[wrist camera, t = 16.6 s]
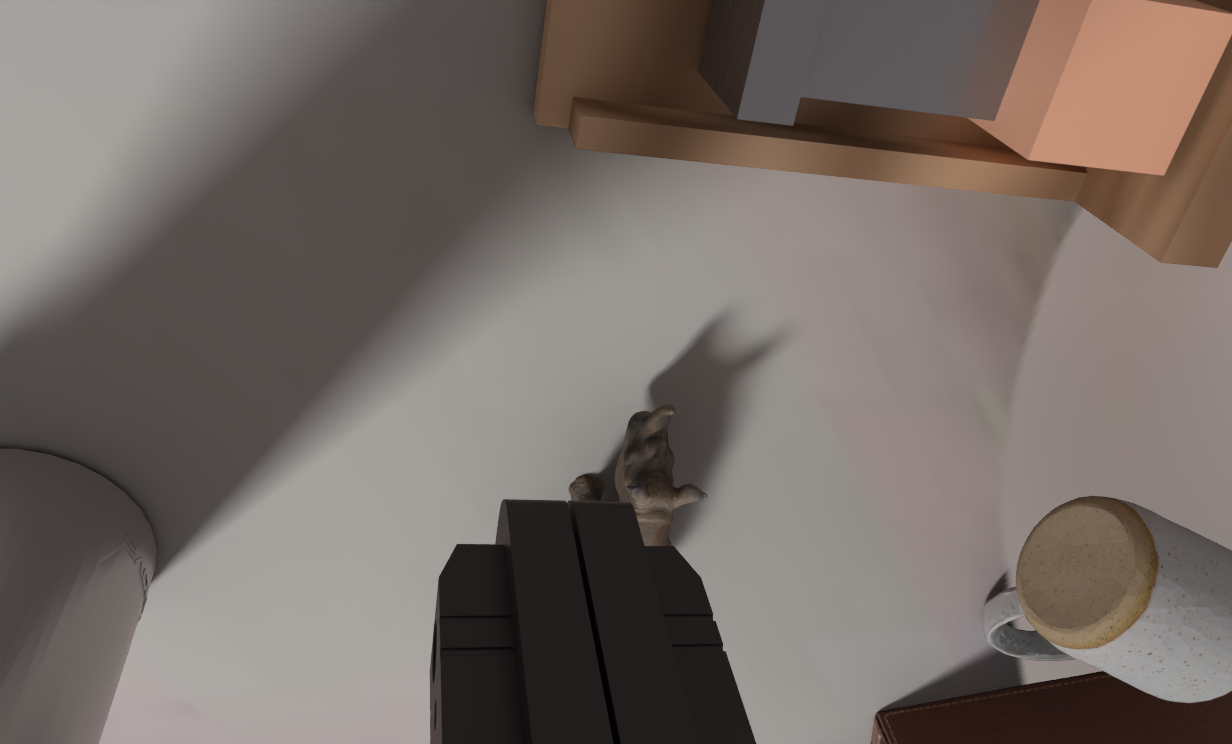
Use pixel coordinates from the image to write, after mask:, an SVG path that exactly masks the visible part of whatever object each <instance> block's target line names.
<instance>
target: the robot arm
mask: <svg viewBox="0 0 1232 744" xmlns="http://www.w3.org/2000/svg"><path fill="white" fill-rule="evenodd" d="M156 552H157V547H156V543H155V539H154V535H153V531H152V528H151V526H150V525H149V523H148V521H147V519H146V518H145V516H144V514H143V512H142V511H141V509H140V508H139V507H138V506H137V505H136V504H135V503H134V502H133V501H132V500H131V498H130V497H129V496H128V495H127V494H126V493H125V492H124V491H122V490H121V489H120V488H118V487H117V486H116V485H114V484H113V483H112V482H110V481H109V480H107V479H106V478H105V477H103V476H101V475H99V474H97V473H95V472H93V471H91V470H89V469H87V468H86V467H84V466H82V465H80V464H77V463H74V462H71V461H68V460H65V459H62V458H59V457H56V456H53V455H50V454H45V453H39V452H33V451H27V450H21V449H0V744H99V741H100V738H101V735H102V732H103V729H104V726H105V722H106V719H107V716H108V713H109V710H110V707H111V704H112V701H113V698H114V695H115V692H116V689H117V685H118V682H119V679H120V676H121V673H122V670H123V667H124V664H125V661H126V658H127V655H128V652H129V648H130V645H131V641H132V638H133V635H134V632H135V629H136V626H137V623H138V621H139V620H140V618H141V614H142V613H143V609H144V606H145V603H146V600H147V598H146V597H147V593H148V589H149V586H150V583H151V580H152V577H153V574H154V570H155V567H156ZM430 711H431V715H430V743H431V744H756V742H755V739H754V736H753V733H752V730H751V727H750V724H749V721H748V718H747V715H746V712H745V709H744V706H743V703H742V700H741V697H740V694H739V691H738V688H737V685H736V681H735V678H734V675H733V672H732V669H731V666H730V663H729V660H728V657H727V654H726V651H724V652H723V642H722V639H721V636H720V633H719V630H718V627H717V624H716V621H713V612H712V609H711V606H710V603H709V600H708V597H707V594H706V591H705V588H704V585H703V582H702V579H701V577H700V576H699V575H698V574H697V573H696V571H695V570H694V569H693V568H692V567H691V566H690V565H689V563H688V562H687V561H686V560H685V559H684V558H683V556H682V555H681V554H680V553H679V552H678V551H677V550H676V548H675V547H674V546H644V542H643V538H642V535H641V531H640V527H639V524H638V520H637V517H636V513H635V510H634V507H633V505H632V504H631V503H630V502H615V501H568V502H567V503H566V501H556V500H510V499H504V500H503V501H502V503H501V507H500V513H499V520H498V528H497V535H496V543H495V545H490V544H457V545H456V547H455V549H454V551H453V553H452V554H451V556H450V558H449V560H448V562H447V563H446V565H445V567H444V569H443V571H442V572H441V574H440V576H439V581H438V592H437V602H436V612H435V623H434V633H433V644H432V654H431V665H430Z"/></svg>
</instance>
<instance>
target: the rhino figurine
mask: <svg viewBox="0 0 1232 744" xmlns="http://www.w3.org/2000/svg"><path fill="white" fill-rule="evenodd" d="M674 413H675V409H674V407H672V406H671V405H665V406H662V407H660V408H659V409H657V410H655V411H654V412H653V413H650V412H647V411H641V412H637V413H635V414H634V415H633V416H632V417H631V418H630V420H629V423H628V426H627V432H626V436H625V440H624V445H623V448H622V450H621V452H620V455H619V458H618V462H617V466H616V471H615V486H616V489H617V492H618V495H619V498H620V501H619V502H630V503H631V504H632V505H633V507H634V510H635V513H636V517H637V520H638V524H639V527H640V531H641V535H642V538H643V542H644V546H671V542H670V540H669V536H668V533H669V530H670V524H671V522H672V519H673V512H674V510H675V509H676V508H677V507H679V506H681V505H683V504H688V503H693V502H697V501H700V500H703V499H705V498H707V495H706V494H705V493H704V492H702V491H701V490H699V489H698V488H697V487H695V486H694V485H691V484H686V485H683V486H681V487H680V488H675V487H674V486H673V477H672V472H671V468H672V466H673V464H674V455H673V453H672V451H671V450H670V448H669V445H668V433H667V427H668V422H669V420H670V417H671V415H673V414H674ZM602 491H603V484H602V483H601V481H600V480H598V479H591V478H590V477H588V476H587V475H582V476H579V477H578V478H576V480H575V481H574V482H573V483H571V484H570V486H569V492H570V494H571V499H572V501H601V497H602Z"/></svg>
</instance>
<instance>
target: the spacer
mask: <svg viewBox="0 0 1232 744" xmlns="http://www.w3.org/2000/svg"><path fill="white" fill-rule="evenodd" d="M1231 35H1232V13H1231V12H1228V11H1225V10H1222V9H1219V8H1216V7H1213V6H1210V5H1207V4H1205V3H1202V2H1199V1H1196V0H1040V1H1039V4H1038V7H1037V9H1036V12H1035V15H1034V17H1033V20H1032V23H1031V25H1030V28H1029V31H1028V33H1027V36H1026V39H1025V41H1024V44H1023V47H1022V49H1021V52H1020V55H1019V57H1018V60H1017V63H1016V65H1015V68H1014V71H1013V73H1012V76H1011V79H1010V81H1009V84H1008V87H1007V89H1006V92H1005V95H1004V97H1003V100H1002V103H1001V105H1000V108H999V111H998V113H997V116H996V119H995V121H990V120H982V119H974V118H968V119H970V120H971V121H972V122H974V123H975V124H977V125H978V126H980V127H981V128H983V129H984V130H985V131H987V132H988V133H990V134H991V135H993V136H994V137H995V138H997V139H998V140H1000V141H1001V142H1003V143H1004V144H1006V145H1007V146H1008V147H1010V148H1011V149H1013V150H1014V151H1016V152H1017V153H1019V154H1020V155H1021V156H1023V157H1024V158H1026V159H1027V160H1033V161H1041V162H1050V163H1059V164H1067V165H1076V166H1084V167H1093V168H1102V169H1110V170H1119V171H1128V172H1136V173H1145V174H1154V175H1162V176H1164V175H1165V173H1166V170H1167V168H1168V166H1169V164H1170V162H1171V160H1172V158H1173V156H1174V154H1175V152H1176V150H1177V148H1178V146H1179V143H1180V141H1181V139H1182V137H1183V135H1184V133H1185V131H1186V129H1187V127H1188V125H1189V123H1190V121H1191V118H1192V116H1193V114H1194V112H1195V110H1196V108H1197V106H1198V104H1199V102H1200V100H1201V98H1202V96H1203V94H1204V91H1205V89H1206V87H1207V85H1208V83H1209V81H1210V79H1211V77H1212V75H1213V73H1214V71H1215V69H1216V66H1217V64H1218V62H1219V60H1220V58H1221V56H1222V54H1223V52H1224V50H1225V48H1226V46H1227V44H1228V42H1229V39H1230V37H1231Z"/></svg>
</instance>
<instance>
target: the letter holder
mask: <svg viewBox="0 0 1232 744" xmlns="http://www.w3.org/2000/svg"><path fill="white" fill-rule="evenodd" d="M871 744H1232V691H1230V692H1229V693H1227V694H1225V695H1223V696H1220V697H1217V698H1214V699H1212V700H1208V701H1202V702H1193V703H1183V702H1173V701H1168V700H1164V699H1161V698H1158V697H1156V696H1153V695H1151V694H1148V693H1146V692H1144V691H1142V690H1139V689H1137V688H1136V687H1134V686H1132V685H1130V684H1128V683H1126V682H1124V681H1122V680H1120V679H1118V678H1116V677H1114V676H1112V675H1110V674H1108V673H1106V672H1104V671H1101V672H1095V673H1090V674H1085V675H1079V676H1073V677H1068V678H1061V679H1056V680H1049V681H1043V682H1037V683H1031V684H1026V685H1024V686H1019V687H1013V688H1007V689H1002V690H997V691H991V692H986V693H981V694H975V695H970V696H964V697H959V698H954V699H948V700H942V701H937V702H931V703H926V704H921V705H916V706H910V707H904V708H899V709H894V710H888V711H881V712H877V713H876V716H875V720H874V727H873V734H872V742H871Z"/></svg>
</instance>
